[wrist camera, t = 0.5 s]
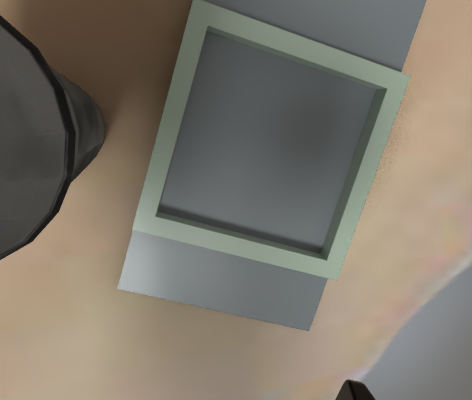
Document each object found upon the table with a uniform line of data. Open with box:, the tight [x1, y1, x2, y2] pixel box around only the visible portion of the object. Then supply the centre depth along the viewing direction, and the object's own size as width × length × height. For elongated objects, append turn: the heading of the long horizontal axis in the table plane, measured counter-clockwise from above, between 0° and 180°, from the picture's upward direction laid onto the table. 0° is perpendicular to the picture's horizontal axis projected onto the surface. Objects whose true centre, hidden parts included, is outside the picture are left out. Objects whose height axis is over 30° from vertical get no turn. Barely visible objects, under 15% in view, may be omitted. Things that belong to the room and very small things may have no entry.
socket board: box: [117, 0, 426, 331], centre depth 22 cm, size 22×12×2 cm, turn 163°
